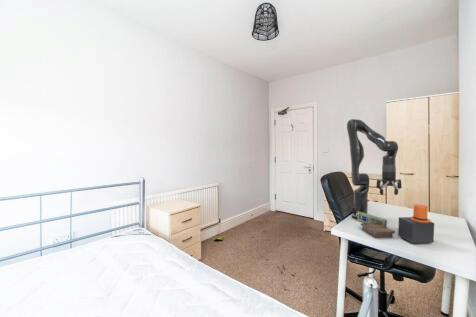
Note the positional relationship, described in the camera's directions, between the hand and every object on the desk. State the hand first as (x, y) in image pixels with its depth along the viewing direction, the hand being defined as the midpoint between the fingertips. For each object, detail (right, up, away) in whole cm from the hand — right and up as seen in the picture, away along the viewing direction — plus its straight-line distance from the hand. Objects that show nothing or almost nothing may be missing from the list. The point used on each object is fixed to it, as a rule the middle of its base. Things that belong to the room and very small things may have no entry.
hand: (388, 194), depth 144 cm
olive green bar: (-11, -21, +6) cm, 25 cm away
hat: (+3, -11, -22) cm, 24 cm away
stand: (-15, -22, -10) cm, 29 cm away
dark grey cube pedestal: (0, -23, -21) cm, 31 cm away
